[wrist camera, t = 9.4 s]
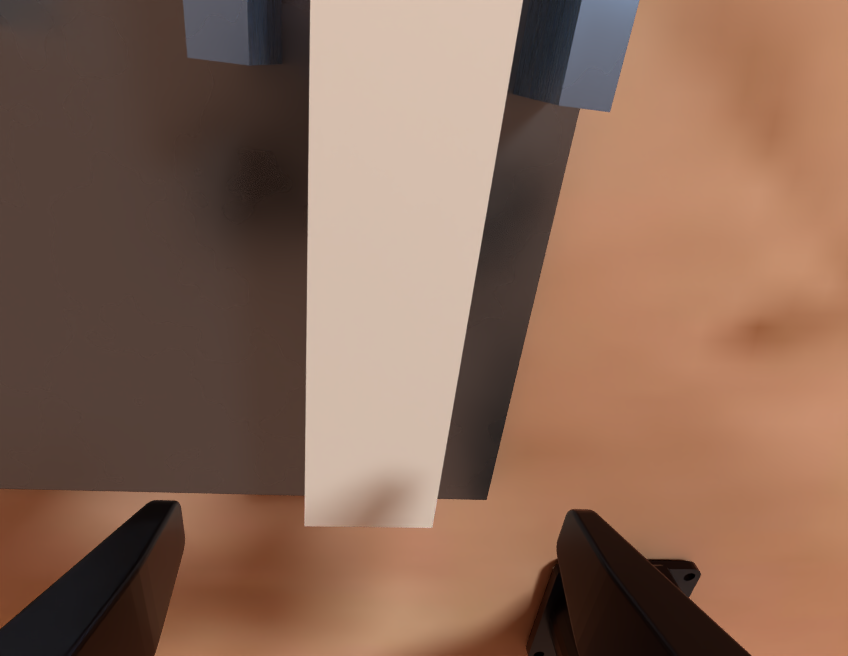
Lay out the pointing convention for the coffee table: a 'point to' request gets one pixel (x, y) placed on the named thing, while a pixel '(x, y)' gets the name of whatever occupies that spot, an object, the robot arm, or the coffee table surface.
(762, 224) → the coffee table surface
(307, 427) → the long cream bar
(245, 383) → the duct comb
